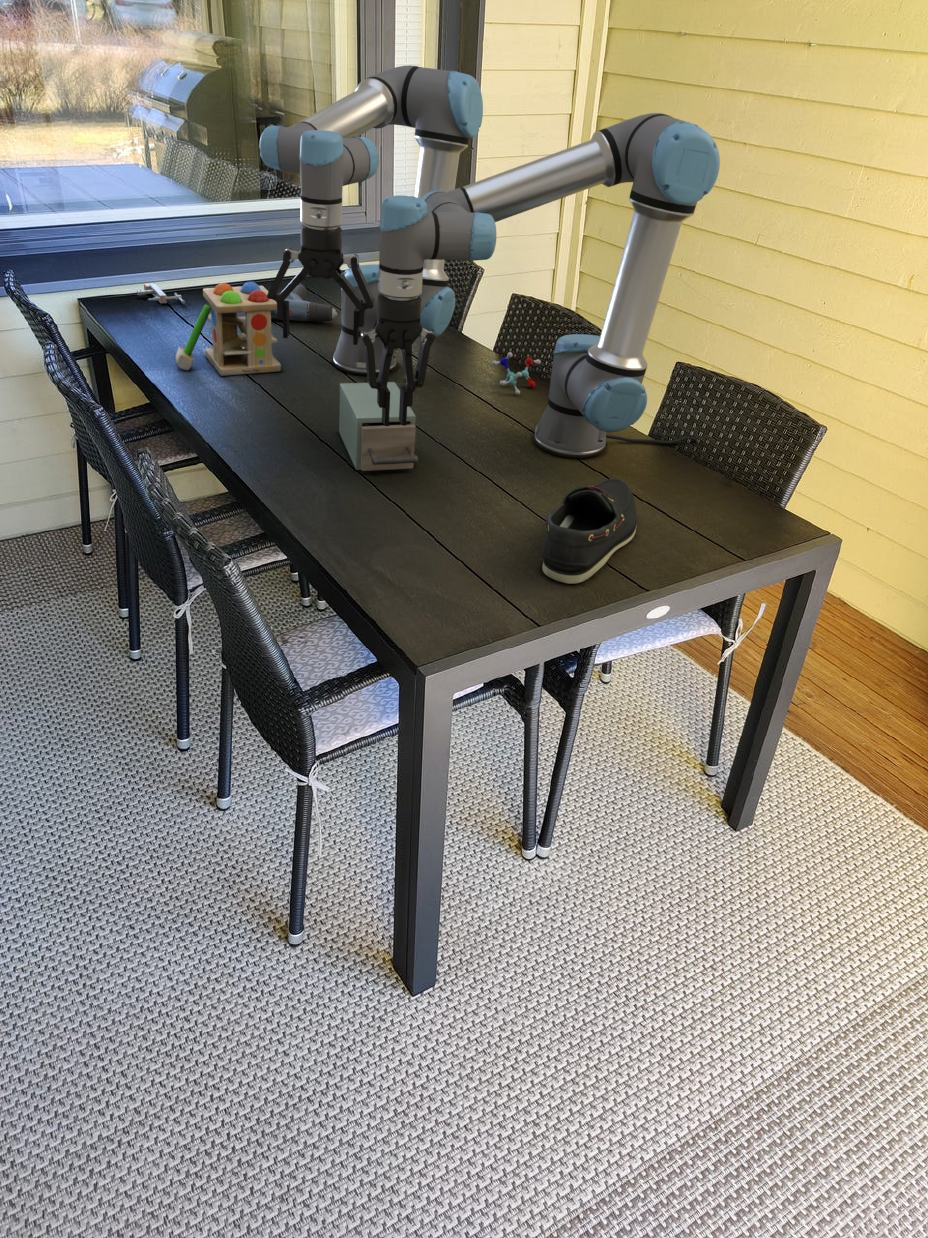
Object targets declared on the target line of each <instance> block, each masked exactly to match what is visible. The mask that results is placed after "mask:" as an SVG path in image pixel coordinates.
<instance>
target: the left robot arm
mask: <svg viewBox="0 0 928 1238" xmlns="http://www.w3.org/2000/svg"><path fill="white" fill-rule="evenodd" d="M483 115H484V102H483V95H482V91H481V88H480V84H479V83H478V81H477V80H476V78H475V77H474V76H472V75H471V74H467V73H464V72H459V71H457V70H447V69H438V68H430V67H422V66H418V65H411V64H410V65H408V64H407V65H401V66H396V67H391V68H389V69H386V70H383V71H380V72H378V73H375V74H372V75H371V76H369V77H367V78H365V79H363V80H361V81H360V82H359V83H358V84H357V85H356V87H355V90H354V91H352V92H351V93H348V94H347V95H346V96H344V97H342V98H340V99H338V100H336V101H335V102H333V103H331V104H329V105H328V106H325V107H324V108H322V109H320V110H318V111H317V112H315V113H313V114H311V115H309V116H307V117H306V118H304V119H301V120H300V121H298V122H296V123H295V124H292V125H291V126H286V127H285V126H283V125H269V126H267V127H266V128H264V130H263V132H261V135H260V139H259V150H260V153H259V156H260V158H261V160H262V162H263V163H264V165H265V166H266V167H268V168H270V169H273V170H274V169H275V170H278V171H280V172H282V173H283V172H286V173H290V174H291V173H293V174H297V175H300V176H299V177H300V180H299V181H300V222H301V226H300V250H299V251H298V250H293V249H292V248H291V247H287V248H286V249H285V250H284V251H283V256H282V262H281V265H280V267H279V269H278V271H277V273H276V276H275V278H274V279H273V281H272V284H271V286H270V288H269V290H268V294H267V298H268V299H272V300H274V301H276V303H277V317H278V319H277V320H279V321H280V320H281V321H282V338H283V339H288V338H289V335H290V320H289V301H286V300H285V299H286V298H287V297H288V295H289V294H290V293H291V292H292V291H293V290H294V289H295V288H296V287H297V285H298V284H299V283H301V282H302V281H303V280H304V279H305V278H306V277H307V276H308V275H309V277H311V278H312V279H313V278H314V279H318V278H320V279H324V280H329V279H333V280H334V281H335V282H336V283H337V284H338V285H339V287H340V290H341V316H340V317H341V319H340V321H341V324H340V325H341V326H340V329H341V330H340V336H339V338H338V341H337V344H336V348H335V350H334V352H333V361H332V362H333V363H332V364H333V366H334V367H335V368H337V369H338V370H339V371H342V372H344V373H347V374H352V375H356V376H367V370H366V358H365V347H364V342H363V340H362V338H361V336H360V332H361V331H368V330H370V329H372V328H374V324H375V322H376V320H377V303H378V295H379V294H380V292H379V291H378V276H379V263H377V264H376V263H375V264H373V263H372V264H371V263H370V264H360V257H359V255H358V254H357V253H353V254H352V255H344V254H343V229H342V227H341V225H342V224H343V187H345V186H348V185H353V184H357V183H358V184H360V183H363V182H364V181H367V180H368V179H371V178H372V177H373V176H374V175H375V174H376V173H377V171H378V169H379V166H380V156H379V155H380V154H379V151H378V149H377V146H376V145H375V144H374V142H373V141H372V140H370V139H369V138H367V137H364V136H362V135H364V134H365V133H367V132H368V131H370V130H372V129H379V130H380V129H383V128H385V127H387V126H391V125H392V126H401V127H406V128H407V127H408V128H411V129H412V128H413V129H414V137H413V138H414V140H415V141H416V142H417V145H418V146H419V148H420V149H419V154H418V163H417V171H416V178H415V186H414V195H413V197H417V198H422V197H423V196H424V195H425V194H426V193H428V192H431V191H442V192H445V193H446V192H449V191H452V190H455V189H456V182H457V174H458V168H459V160H460V155H461V153H462V152H464V151H465V150H466V149H467V148H468V147H469V140H470V139H472V138H475V137H476V136H477V135H478V134H479V132H480V128H481V127H482V124H483V123H482V122H483V117H484V116H483ZM296 259H298V261H299V263H300V264H301V265H302V268H301V269H300V271H299V272H298V273H297V274H296V275H295V276H294V278H292V280H290V282H289V283H288V284H287V285H286V286H285V287H284V289H283V290H282V291H281V292H278V289H279V288H280V285H281V284H282V282H283V280H284V279H285V275H286V274H287V271H288V269H289V267H290V266H291V264H293V263H295V261H296ZM445 262H446V260H429V259H425V260H424V264H423V278H422V293H421V294H420V295H419V296H420V298H421V316H420V322H421V325H422V328H424V329H426V330H431V331H432V332H433V334H434V335H435V338H437V337H439V336H441V335H443V334H442V333H444V332H445V331H446V329H447V327H448V326H449V325H450V322H451V320H452V317H453V315H454V311H455V307H456V293H455V291H454V290H453V289H452V288H451V287H449V280H450V277H449V276H448V275H447V273H446V272H445V269H444V268H445ZM344 264H346V266H347V267H348V268H346V270H345V271H344V272H343V271H342V269H341V267H342V266H343V265H344ZM418 338H420V335H419V336H418ZM372 344H373V347H374V356H375V368H376V376H378V375H379V369H380V363H381V357H382V351H383V349H382V346H383V342H382V341H381V339H380V338H379V336H378V335H376V336H375V342H374V343H372ZM396 368H397V354H396V352H395V350H394V353H393V355H392V360H391V365H390V371H389V373H391V372H393V371H395V369H396Z"/></svg>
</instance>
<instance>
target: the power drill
mask: <svg viewBox="0 0 928 1238" xmlns="http://www.w3.org/2000/svg"><path fill="white" fill-rule="evenodd" d="M307 295H308V290H307V287H306V285H304V284H303V283H301V282H300V283H299V284H298V285H297V287H296V288H295V289H294V290H293V291H292V292H291V293H290V294H289V295H288V297H287V298H286V299H285V300H286V301H289V321H294V322H295V321H297V322H332V321H333V320H334V319H336V318H337V317H338V312H337V311H336V308H334V307H333V306H332V305H331V304H324V303H317V302H313V301H307V300H305V299H306V297H307ZM271 319H274V320H275V319H276V320H279V319H278V317H277V310H271Z"/></svg>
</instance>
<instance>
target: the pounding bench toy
mask: <svg viewBox="0 0 928 1238" xmlns="http://www.w3.org/2000/svg"><path fill="white" fill-rule="evenodd" d="M268 292H269V290H268V289H267V288H266V287H264V285H259V284H257V283H256V282H255V281H247V282H245V283H244V284H243V285H242V286H232V285H230V284H229V283H226V282H221V283H218V284H217V285H216V286H215V287H204V288H203V289H202V296H203V298H204V299H205V300H206V301H207V302H208V304H209V305H208V304H204V305H203V307H202V309H201V312H200V313H199V316H198V318H197V320H196V322H195V324H194V327H193V329H192V331H191V332H190V333H191V334H190V336H189V338H188V340H187V343H186V344H185V347H184V348H182V347H180V346H179V347H178V349H177V351H176V354H175V357H174V358H175V362H176V365H177V366H178V368H179V369H182V370H185V371H189V370H190V369H191V367H192V365H193V363H194V356H193V351H194V348H195V347H196V345H197V342H198V340H199V337H200V336H201V333H202V332H203V329H204V326H205V325H206V322H207V320H209V321H210V322H211V336H212V337H211V338H212V339H211V340H212V348H205V349H204V352H205V353H204V355H205V357H206V359H208V361H209V363H210V364H211V365H212V366H213V367H214V369H215V370H216V371H217V372H218V374H219V375H220V376H222V377H223V376H234V375H235V376H236V375H246V374H247V375H250V374H262V373H275V372H281V370H282V364H281V363H280V362H279V360H278V359H277V358H276V357H275V356H274V355H273V348H272V347H273V345H272V344H276V343H278V342H279V341H278V339H277V338H276V337H275V336H274V334H272V318H271V310H277V303H276V301H274V300H272V299H268V298H267V294H268ZM238 313H244V314H245V315H244V316H238ZM238 329H239V331H240V333H239V334H238Z"/></svg>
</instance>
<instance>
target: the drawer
mask: <svg viewBox="0 0 928 1238" xmlns="http://www.w3.org/2000/svg"><path fill="white" fill-rule="evenodd" d="M416 427H417V426H416V424H415V425H414V424H411V425H408V423H407V421H406V425H405V426H402V424H401V423H400V422H389V426H384V424H383V422H378V423H362V438H361V470H360V471H362V472H368V471H386V470H388V471H389V470H405V469H407V470H408V469H414V464H417V463H418V461H419V457H418V455H415V448H416V447H415V445H416V430H417V428H416Z"/></svg>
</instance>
